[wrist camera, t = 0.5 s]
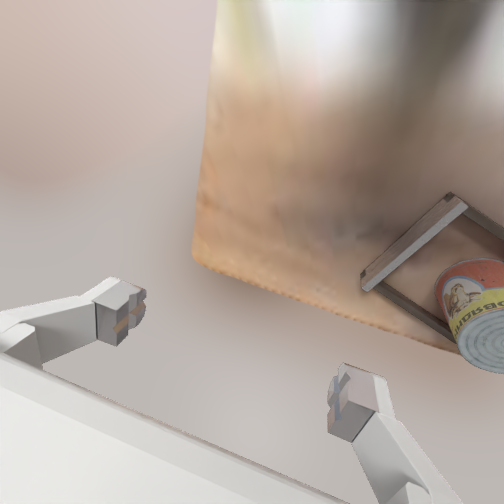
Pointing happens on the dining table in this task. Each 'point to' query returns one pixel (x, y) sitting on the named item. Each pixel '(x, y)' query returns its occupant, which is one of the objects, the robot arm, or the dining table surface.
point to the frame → (411, 243)
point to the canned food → (475, 310)
